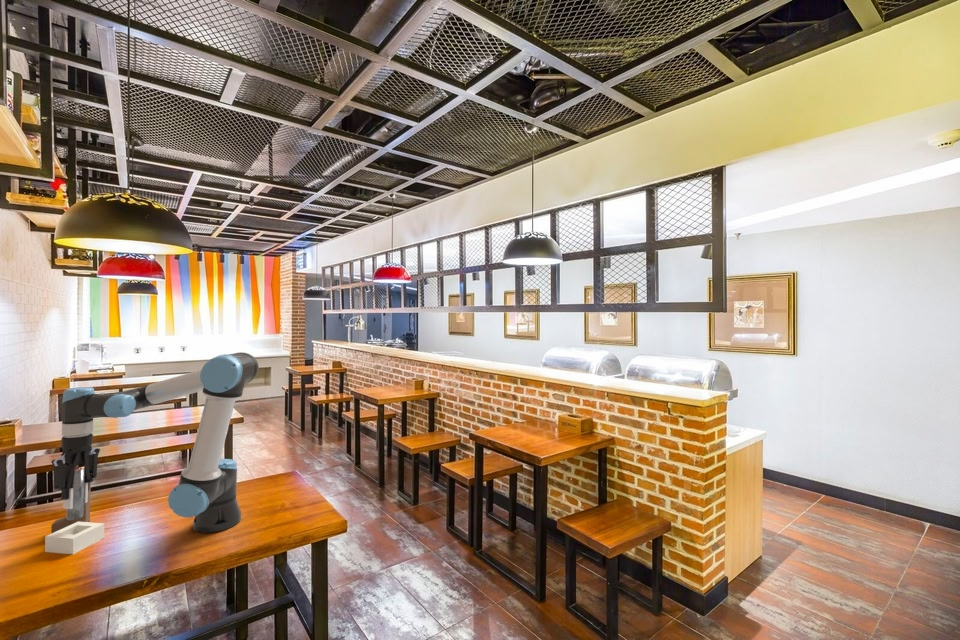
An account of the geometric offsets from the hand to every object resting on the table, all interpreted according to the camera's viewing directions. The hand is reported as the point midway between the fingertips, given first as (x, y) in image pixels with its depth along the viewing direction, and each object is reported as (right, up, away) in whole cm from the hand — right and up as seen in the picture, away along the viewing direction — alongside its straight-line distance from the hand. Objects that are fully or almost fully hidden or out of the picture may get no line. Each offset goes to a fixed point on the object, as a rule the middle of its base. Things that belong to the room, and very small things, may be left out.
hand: (75, 505), depth 139 cm
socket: (0, -13, 0) cm, 13 cm away
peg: (0, -4, 0) cm, 4 cm away
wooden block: (-9, -13, +8) cm, 18 cm away
